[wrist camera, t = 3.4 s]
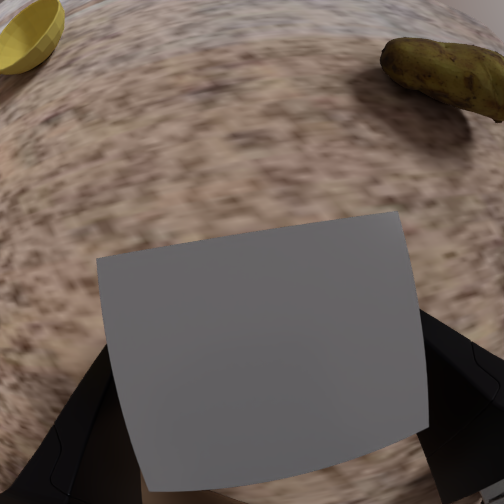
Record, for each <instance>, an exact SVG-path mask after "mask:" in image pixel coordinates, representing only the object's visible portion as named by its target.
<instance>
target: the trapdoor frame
mask: <svg viewBox="0 0 504 504" xmlns="http://www.w3.org/2000/svg"><path fill="white" fill-rule="evenodd" d="M140 473H141V491H142V504H247V503H244V502H241V501H238V500H235V499H232V498H229V497H226V496H223V495H220V494H218V493H215V492H212V491H210V490H198V491H177V492H149V490H148V487H147V485H146V482H145V480H144V477H143V474H142V472H141V469H140Z"/></svg>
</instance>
